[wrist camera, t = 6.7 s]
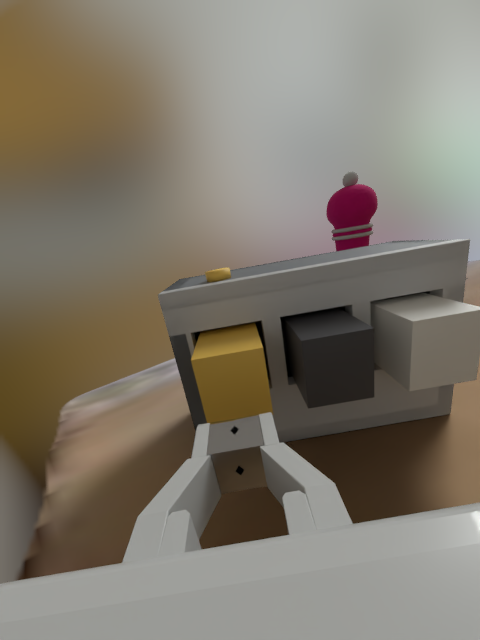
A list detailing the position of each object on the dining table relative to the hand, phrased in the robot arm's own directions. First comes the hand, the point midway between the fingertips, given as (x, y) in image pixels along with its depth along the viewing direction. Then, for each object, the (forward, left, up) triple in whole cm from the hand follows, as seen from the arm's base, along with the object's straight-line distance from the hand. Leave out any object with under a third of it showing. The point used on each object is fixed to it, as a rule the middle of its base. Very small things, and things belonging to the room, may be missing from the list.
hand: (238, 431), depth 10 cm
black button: (-5, -5, -2) cm, 8 cm away
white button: (-11, -5, -2) cm, 12 cm away
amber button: (0, -5, -2) cm, 5 cm away
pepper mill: (-17, -26, -7) cm, 32 cm away
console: (-5, -9, -7) cm, 13 cm away
